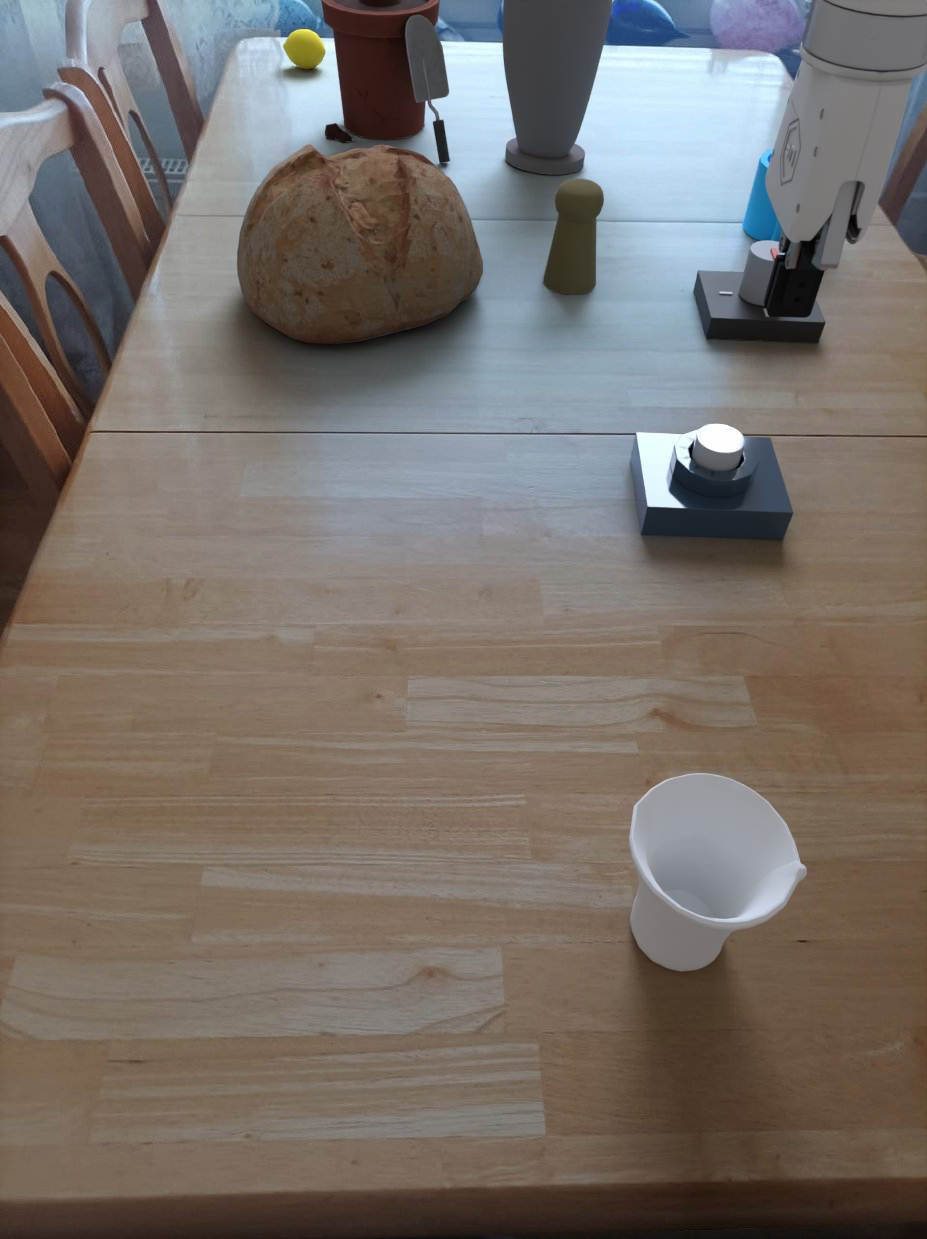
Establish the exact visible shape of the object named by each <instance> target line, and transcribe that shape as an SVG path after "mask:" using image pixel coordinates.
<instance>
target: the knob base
mask: <svg viewBox="0 0 927 1239" xmlns="http://www.w3.org/2000/svg"><path fill="white" fill-rule="evenodd" d="M743 273H744V271H727V270H726V271H723V270H704V269H703V270H697V273H696V278H695V281H694V285H693V295H694V298H695V302H696V306H697V310H698V313H699V318H700V321H701V325H702V329H703V333H704V337H705V339H706V340H727V341H747V342H748V341H752V342H772V343H773V342H775V343H794V344H795V343H797V344H800V343H801V344H819V343H820V340H821V337H822V335H823V332H824V329H825V326H826V323H827V322H826V320H825V317H824V315H823V313H822V311H821V308H820V306H819V304H818V301H817V299H816V300H815V303H814V306H813V309H812V312H811V314H810V316H808V317H806V318H797V317H770V316H769V315H768V314H767V311H766V307H765V306H761V305H755V304H752V303H749V302H747V301H745V300H744V299H742V298H741V297H740V295H739V288H740V284H741V280H742V276H743Z"/></svg>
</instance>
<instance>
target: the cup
mask: <svg viewBox="0 0 927 1239" xmlns="http://www.w3.org/2000/svg"><path fill="white" fill-rule="evenodd" d="M628 845H629V846H628V847H629V851H630V856H631V861H632V863H633V865H634V867H635V868H636V870H637V871H636V874H637V882H638V886H637V891H636V892H637V893H636V896H635V898H634V901H633V903H632V906H631V907H632V908H631V911H630V917H629V924H630V929H631V932H632V936H633V937H634V939H635V942H636V944H637V946H638V948H639V950H641V951H642V952H643V953H644V954H645V955H646V956H647V958H648V959H649V960H650V961H651V962H653V963H655V964H657V965H659V966H661V967H663V968H666V969H668V970H673V971H676V972H691V971H698V970H700V969H702V968H705V967H707V966H708V965H710V964H711V963H712V962H714V961H715V960H716V958H718V956H719V954H720V953H721V951H722V948H723V945H724V944H725V942H726V940H727V939H728V937H729V936H730V935H731V934H732V932H734V931H738V930H745V929H750V928H753V927H755V926H758V925H761V924H763V923H766V922H767V921H769V920H770V919H771V918H773V917H774V916H776V914H778V913H779V912H780V911H781V910H783V909H785V907H786V905H787V904H788V902H789V900H790V898H791V897H792V895H793V893H794V891H795V889H796V888H797V886H798V884H799V883H800V882H802V880H804V879H805V878H806V877H807V875H808V873H807V872H808V871H807V866H805V864H803V863H801V860H800V855H799V852H798V847H797V844H796V842H795V839H794V836H793V835H792V833H791V830H790V828H789V826H788V824H787V822H786V821H785V820H784V819H783V818H782V816H781V815H780V814H779V813H778V812H777V810H776V809H775V807H773V805H772V804H771V803H770V802H769V801H768V800H767V799H765V798H764V797H763V795H761V794H759V793H758V792H757V791H756V790H754V789H752V788H750V787H749V786H747V785H746V784H743V783H742V782H739V781H738V780H735V779H732V778H730V777H727V776H724V775H719V774H714V773H707V772H701V773H700V772H699V773H698V772H697V773H686V774H683V775H679V776H674V777H670V778H666V779H665V780H663V781H661V782H659V783H658V784H656V785H655V786H653V787H651V788H650V789H649V790H648V791H646V793H645V794H643V796H642V797H641V798H640V799H639V800H638V801H637V802H636V803H635V804H634V805H633V809H632V816H631V824H630V829H629V836H628Z"/></svg>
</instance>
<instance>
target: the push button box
mask: <svg viewBox="0 0 927 1239" xmlns="http://www.w3.org/2000/svg"><path fill="white" fill-rule="evenodd" d="M699 429H700V428H698V429H697V428H696V429H695V430H692V431H688V432H686V433H666V432H665V433H664V432H643V431H636V432H635V434H634V440H633V444H632V449H631V452H630V453H631V454H630V458H629V463H630V469H631V477H632V483H633V491H634V498H635V504H636V505H635V506H636V512H637V518H638V526H639V532H640V536H652V537H653V536H654V537H655V536H656V537H676V538H677V537H679V538H680V537H681V538H682V537H683V538H704V539H705V538H706V539H729V540H730V539H731V540H750V541H751V540H755V541H756V540H757V541H776V542H777V541H778V542H782V541H784V539H785V536H786V533H787V531H788V528H789V526H790V523H791V520H792V518H793V516H794V510H793V507H792V503H791V500H790V497H789V493H788V491H787V487H786V483H785V481H784V477H783V474H782V470H781V468H780V464H779V461H778V457H777V455H776V452H775V448H774V445H773V442H772V439H771V438H772V437H764V436H744V438H745V446H744V449H743V452H742V456H741V459H740V462H739V464H738V466H737V467H736V468H735V469H733V470H731V471H728V472H721V471H711V470H709V469H706V468H703V467H701V466H699V465H698V464H697V463H696V462H695V461H694V460H693V458H692V449H693V446H694V442H695V438H696V434H697V432H698V430H699Z"/></svg>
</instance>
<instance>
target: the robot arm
mask: <svg viewBox="0 0 927 1239" xmlns="http://www.w3.org/2000/svg"><path fill="white" fill-rule="evenodd" d="M798 55H799V57H800V59H801V61H800V64H799V67H798V69H797V72H796V75H795V78H794V80H793V84H792V86H791V90H790V93H789V95H788V99H787V102H786V106H785V108H784V112H783V115H782V119H781V122H780V125H779V129H778V131H777V136H776V139H775V142H774V145H773V148H772V149H773V152H772V155H771V159H770V162H769V166H768V170H767V174H766V181H765V183H766V190H767V193H768V196H769V199H770V201H771V204H772V206H773V209H774V211H775V214H776V216H777V218H778V220H779V223H780V225H781V227H782V231H781V236H780V240H779V246H778V249H779V253H785V255H776V258H775V262H774V266H773V269H772V273H771V276H770V280H769V284H768V287H767V291H766V294H765V298H764V305H765V307H766V311H767V314H768V315H769V316H770V317H797V318H806V317H808V316H810V314H811V312H812V309H813V306H814V303H815V300H816V301H817V296H818V293H819V290H820V287H821V284H822V281H823V278H824V275H825V272H826V271H827V270H836V269H838V267H839V266H840V261H841V257H842V252H843V248H844V245H845V241H847V243H848V244H850V245H856V244H857V243H859V242H861V240H863V238H864V236H865V235H866V233H867V231H868V229H869V226H870V224H871V222H872V219H873V217H874V214H875V212H876V209H877V206H878V204H879V201H880V198H881V194H882V190H883V188H884V185H885V182H886V178H887V176H888V172H889V169H890V166H891V163H892V159H893V156H894V155H893V154H894V152H895V149H896V145H897V143H898V142H897V141H898V138H899V134H900V132H901V128H902V123H903V120H904V119H903V118H904V116H905V112H906V108H907V104H908V101H909V96H910V91H911V87H912V84H913V79H915V78H917V77H919V76H921V75H923V74H924V73H925V72H926V70H927V0H811V3H810V7H809V11H808V15H807V20H806V23H805V28H804V30H803V34H802V39H801V43H800V46H799V50H798ZM845 239H846V240H845Z"/></svg>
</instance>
